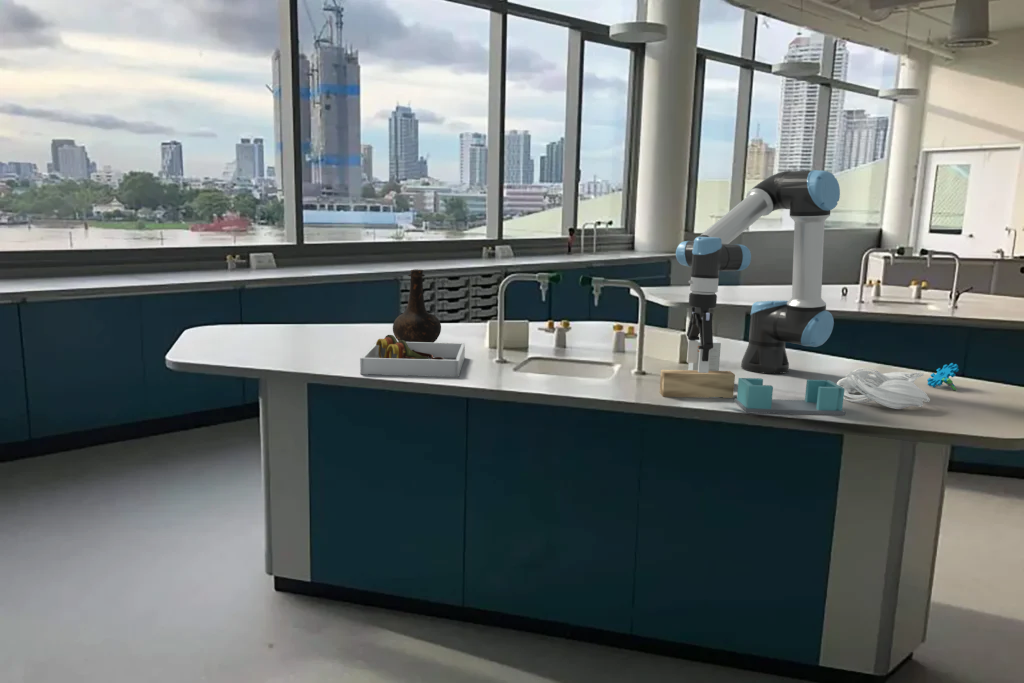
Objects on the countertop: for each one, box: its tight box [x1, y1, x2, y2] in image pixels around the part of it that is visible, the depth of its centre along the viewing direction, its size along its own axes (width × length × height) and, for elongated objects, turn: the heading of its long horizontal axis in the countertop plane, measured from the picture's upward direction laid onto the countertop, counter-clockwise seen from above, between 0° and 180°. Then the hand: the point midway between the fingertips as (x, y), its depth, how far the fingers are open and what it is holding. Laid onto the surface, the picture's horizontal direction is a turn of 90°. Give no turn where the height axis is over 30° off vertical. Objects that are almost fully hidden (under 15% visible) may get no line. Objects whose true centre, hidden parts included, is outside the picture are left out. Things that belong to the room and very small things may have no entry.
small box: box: [687, 338, 722, 371], centre depth 231 cm, size 8×6×13 cm
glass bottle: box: [392, 268, 442, 343], centre depth 277 cm, size 18×18×28 cm
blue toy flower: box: [927, 362, 960, 391], centre depth 233 cm, size 11×6×10 cm
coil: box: [836, 367, 931, 410], centre depth 213 cm, size 25×24×9 cm
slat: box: [659, 369, 736, 399], centre depth 215 cm, size 4×20×7 cm, turn 92°
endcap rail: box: [733, 377, 846, 416], centre depth 203 cm, size 11×26×7 cm, turn 90°
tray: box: [359, 342, 466, 378], centre depth 244 cm, size 29×30×5 cm
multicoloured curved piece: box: [375, 334, 446, 360], centre depth 244 cm, size 24×24×10 cm
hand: (697, 367), depth 214 cm, fingers open, 13 cm apart
